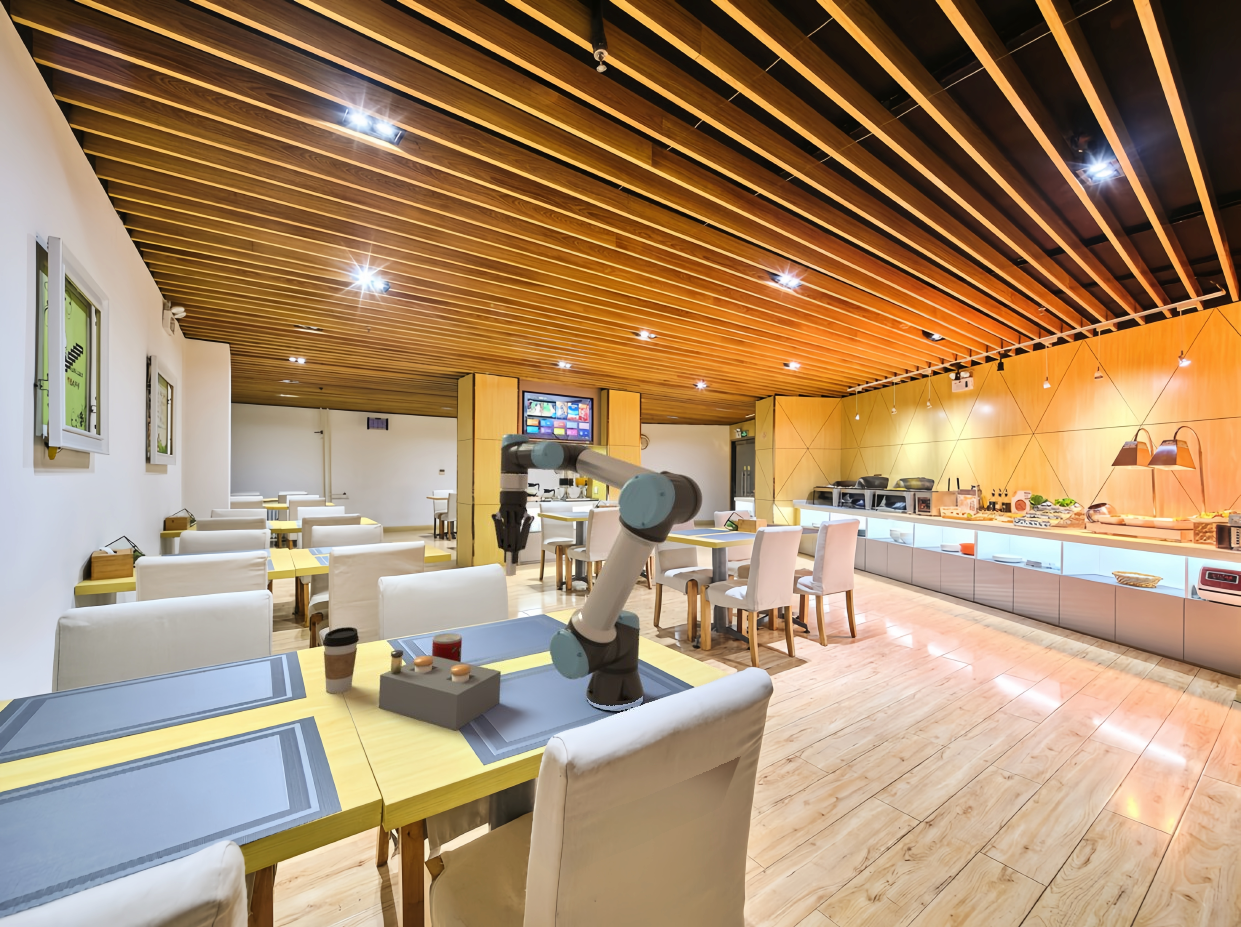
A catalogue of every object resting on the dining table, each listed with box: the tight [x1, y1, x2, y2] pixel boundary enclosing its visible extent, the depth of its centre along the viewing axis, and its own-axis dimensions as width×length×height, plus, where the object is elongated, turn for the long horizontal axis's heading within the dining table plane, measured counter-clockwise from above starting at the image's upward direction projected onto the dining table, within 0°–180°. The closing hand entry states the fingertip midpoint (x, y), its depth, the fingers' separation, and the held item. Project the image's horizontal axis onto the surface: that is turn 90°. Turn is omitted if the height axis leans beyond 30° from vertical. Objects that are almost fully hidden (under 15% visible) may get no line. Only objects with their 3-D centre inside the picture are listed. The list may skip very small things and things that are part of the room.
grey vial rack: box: [378, 654, 502, 732], centre depth 128 cm, size 24×16×8 cm, turn 66°
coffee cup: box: [322, 626, 360, 694], centre depth 136 cm, size 8×8×15 cm
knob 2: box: [451, 664, 471, 683], centre depth 126 cm, size 5×5×8 cm
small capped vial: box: [390, 649, 404, 674], centre depth 128 cm, size 3×3×5 cm
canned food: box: [431, 632, 463, 662], centre depth 147 cm, size 8×8×11 cm
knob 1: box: [413, 655, 433, 674], centre depth 131 cm, size 5×5×8 cm
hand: (510, 575), depth 142 cm, fingers closed
